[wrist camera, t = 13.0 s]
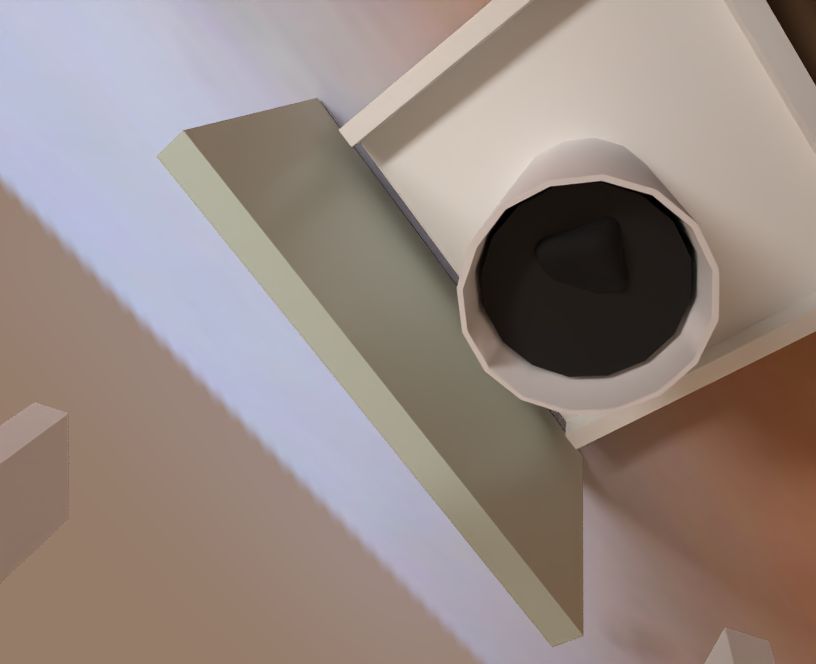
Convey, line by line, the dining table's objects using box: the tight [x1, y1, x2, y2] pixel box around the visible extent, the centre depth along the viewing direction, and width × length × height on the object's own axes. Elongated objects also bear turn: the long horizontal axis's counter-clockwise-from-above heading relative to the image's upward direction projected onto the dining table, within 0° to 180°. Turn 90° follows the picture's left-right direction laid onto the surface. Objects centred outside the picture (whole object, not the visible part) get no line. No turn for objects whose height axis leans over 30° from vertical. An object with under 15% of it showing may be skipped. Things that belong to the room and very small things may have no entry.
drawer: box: [156, 0, 816, 647], centre depth 23 cm, size 16×20×11 cm
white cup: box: [457, 138, 720, 414], centre depth 23 cm, size 7×7×10 cm
